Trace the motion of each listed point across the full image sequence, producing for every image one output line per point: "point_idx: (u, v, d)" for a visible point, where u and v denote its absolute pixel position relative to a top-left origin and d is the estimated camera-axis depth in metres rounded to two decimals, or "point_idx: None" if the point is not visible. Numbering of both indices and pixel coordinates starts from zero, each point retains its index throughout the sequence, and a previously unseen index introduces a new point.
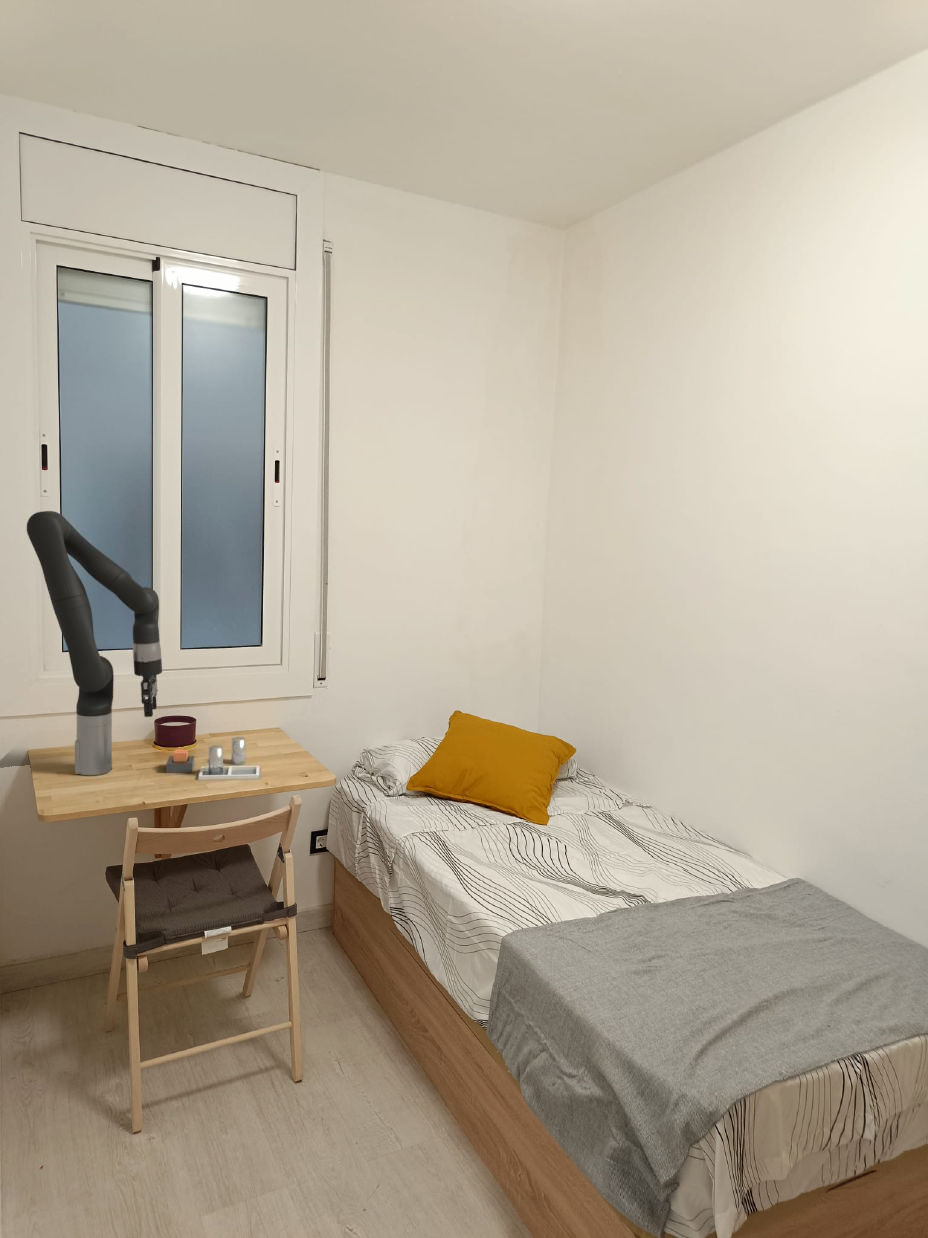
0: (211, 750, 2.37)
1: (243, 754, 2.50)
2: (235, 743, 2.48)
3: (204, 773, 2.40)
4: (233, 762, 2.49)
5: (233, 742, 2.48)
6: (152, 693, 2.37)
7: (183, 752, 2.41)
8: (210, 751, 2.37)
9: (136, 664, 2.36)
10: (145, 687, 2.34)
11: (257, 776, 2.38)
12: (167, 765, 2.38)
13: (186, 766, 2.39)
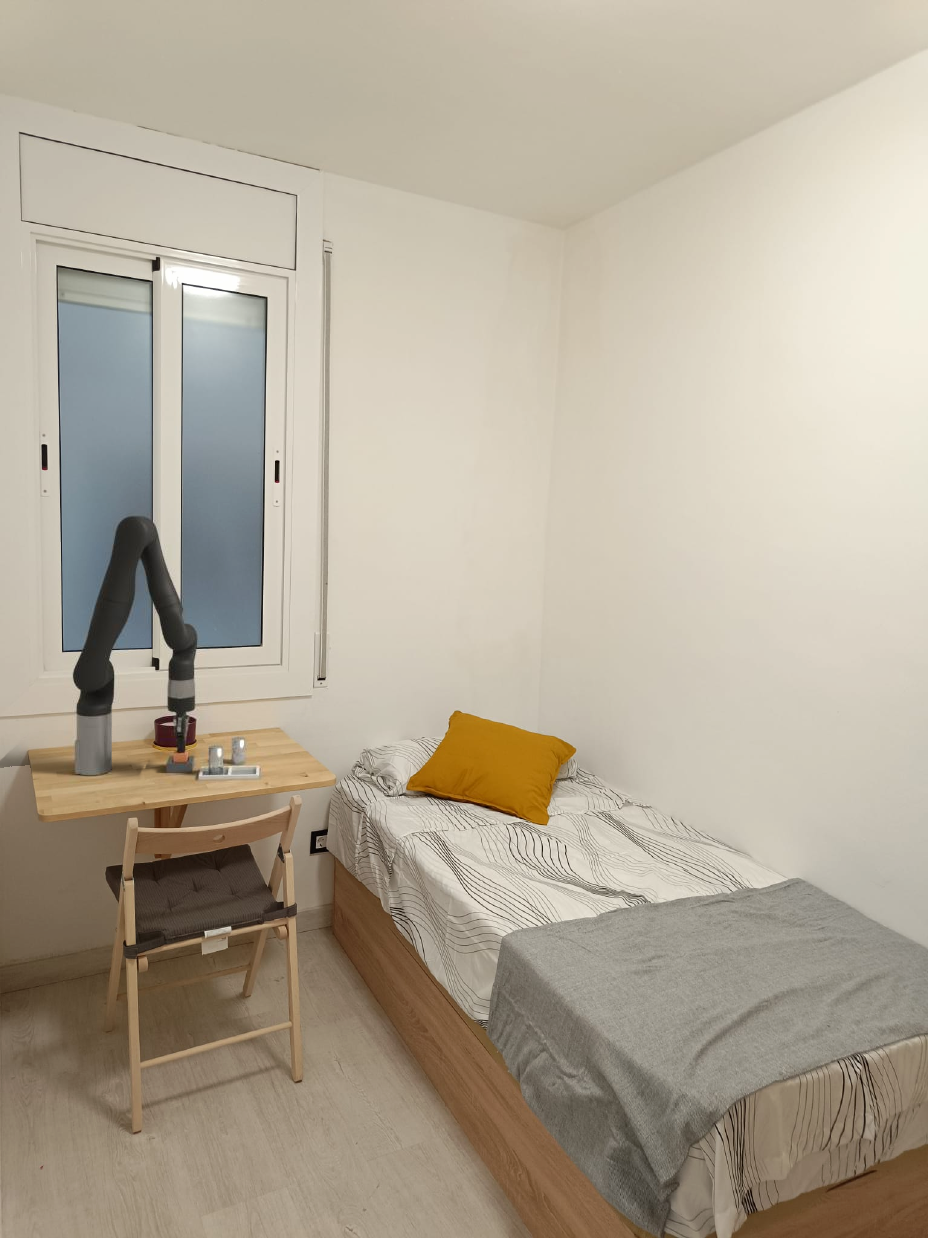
0: (211, 750, 2.37)
1: (243, 754, 2.50)
2: (235, 743, 2.48)
3: (204, 773, 2.40)
4: (233, 762, 2.49)
5: (233, 742, 2.48)
6: (185, 731, 2.40)
7: (183, 753, 2.41)
8: (210, 751, 2.37)
9: (170, 700, 2.37)
10: (179, 731, 2.35)
11: (257, 776, 2.38)
12: (167, 765, 2.38)
13: (186, 766, 2.39)
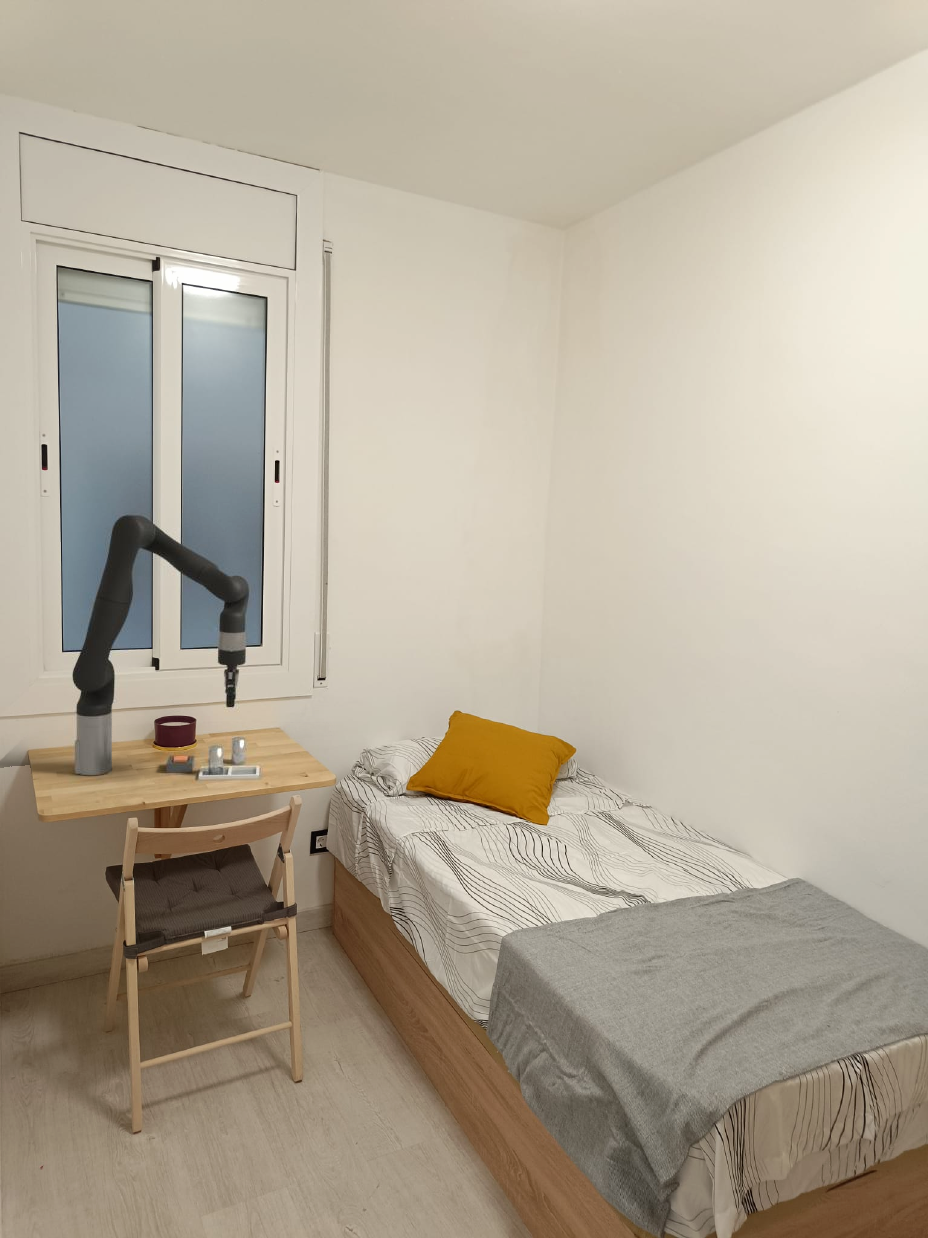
0: (211, 750, 2.37)
1: (243, 754, 2.50)
2: (235, 743, 2.48)
3: (204, 773, 2.40)
4: (233, 762, 2.49)
5: (233, 742, 2.48)
6: (235, 683, 2.33)
7: (183, 759, 2.41)
8: (210, 751, 2.37)
9: (221, 653, 2.32)
10: (230, 677, 2.30)
11: (257, 776, 2.38)
12: (167, 765, 2.38)
13: (186, 766, 2.39)
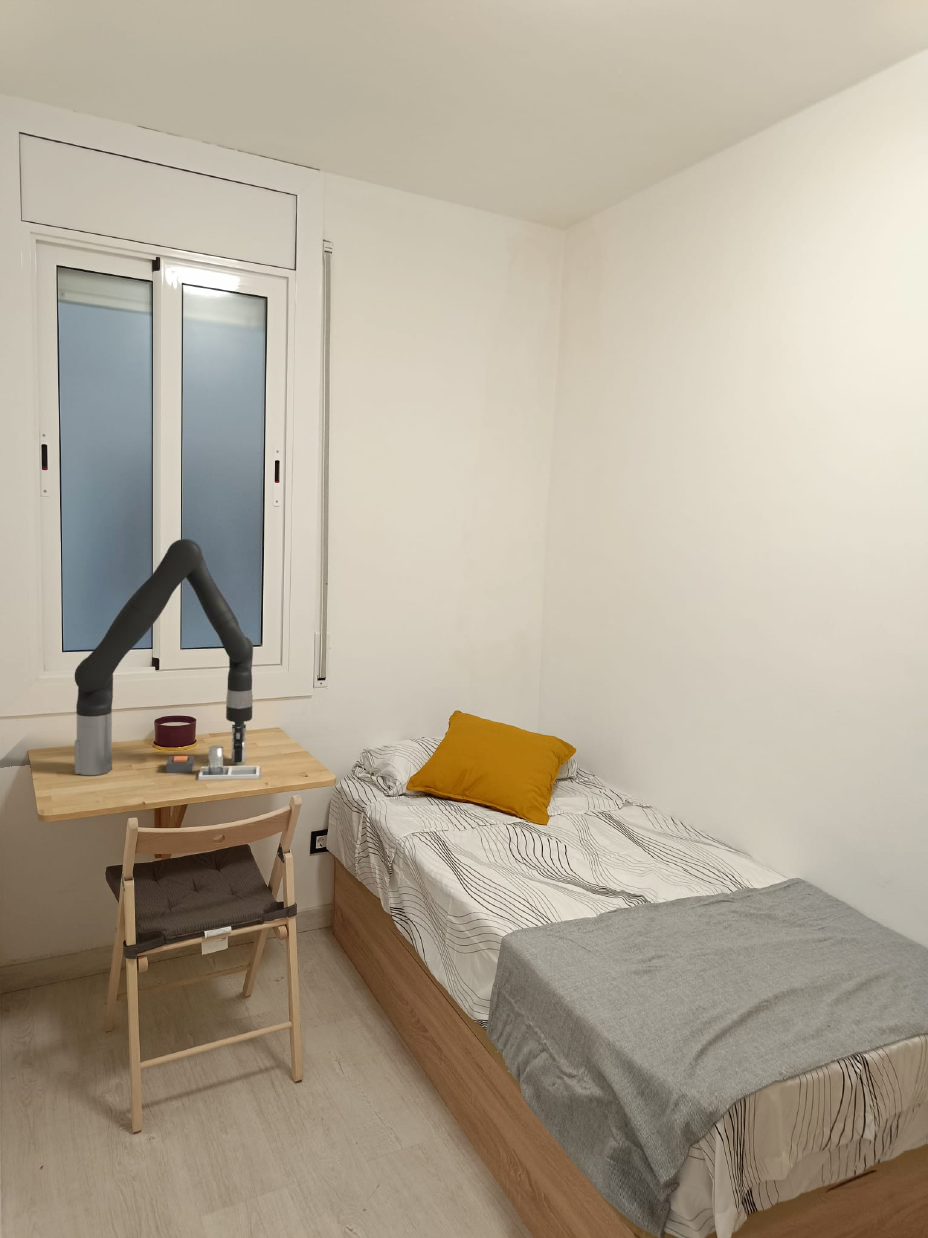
0: (211, 750, 2.37)
1: (243, 754, 2.50)
2: None
3: (204, 773, 2.40)
4: (233, 762, 2.49)
5: (233, 742, 2.48)
6: (243, 740, 2.47)
7: (183, 759, 2.41)
8: (210, 751, 2.37)
9: (229, 710, 2.46)
10: (237, 737, 2.43)
11: (257, 776, 2.38)
12: (167, 765, 2.38)
13: (186, 766, 2.39)
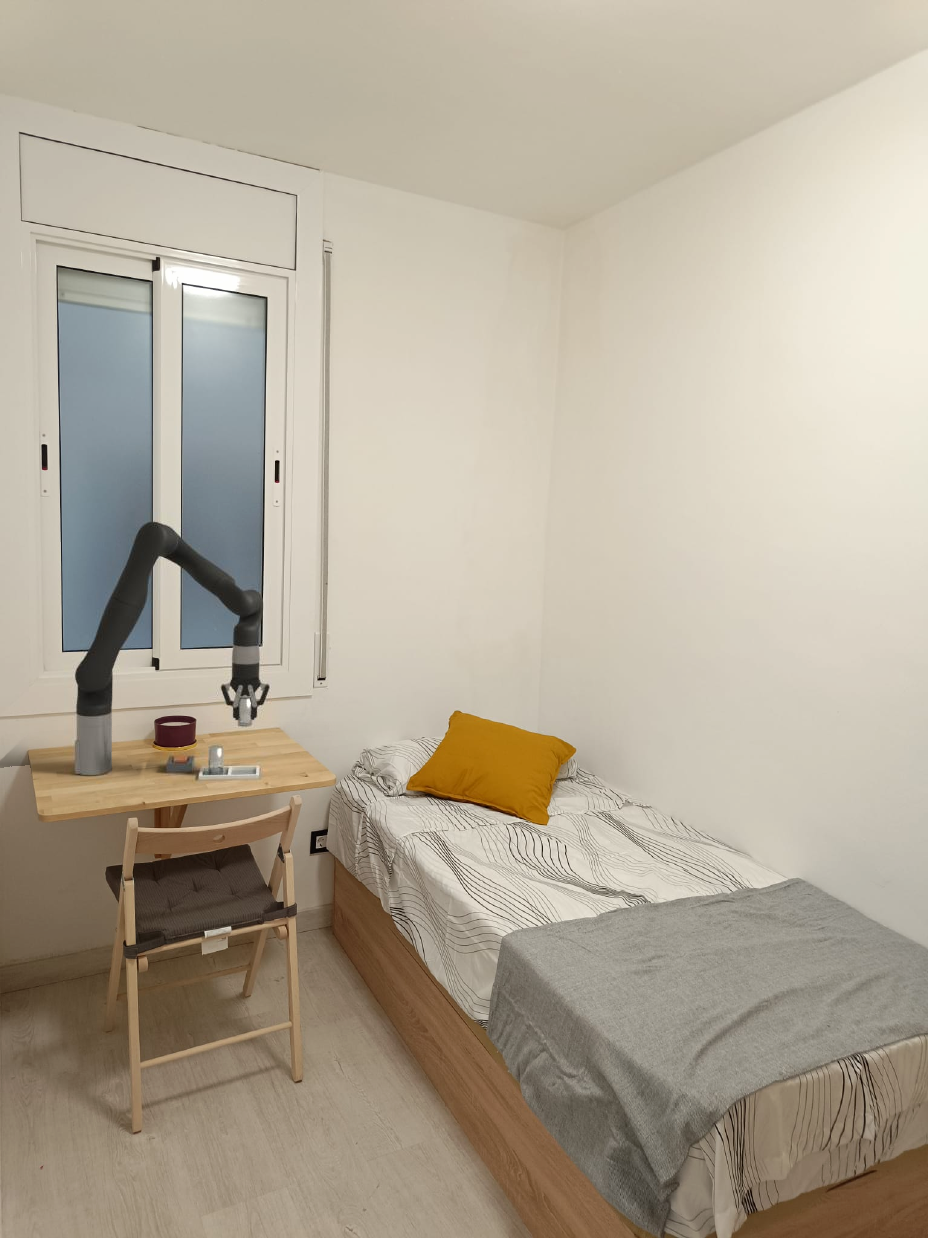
0: (211, 750, 2.37)
1: (240, 714, 2.37)
2: None
3: (204, 773, 2.40)
4: None
5: None
6: (235, 697, 2.36)
7: (183, 759, 2.41)
8: (210, 751, 2.37)
9: None
10: None
11: (257, 776, 2.38)
12: (167, 765, 2.38)
13: (186, 766, 2.39)
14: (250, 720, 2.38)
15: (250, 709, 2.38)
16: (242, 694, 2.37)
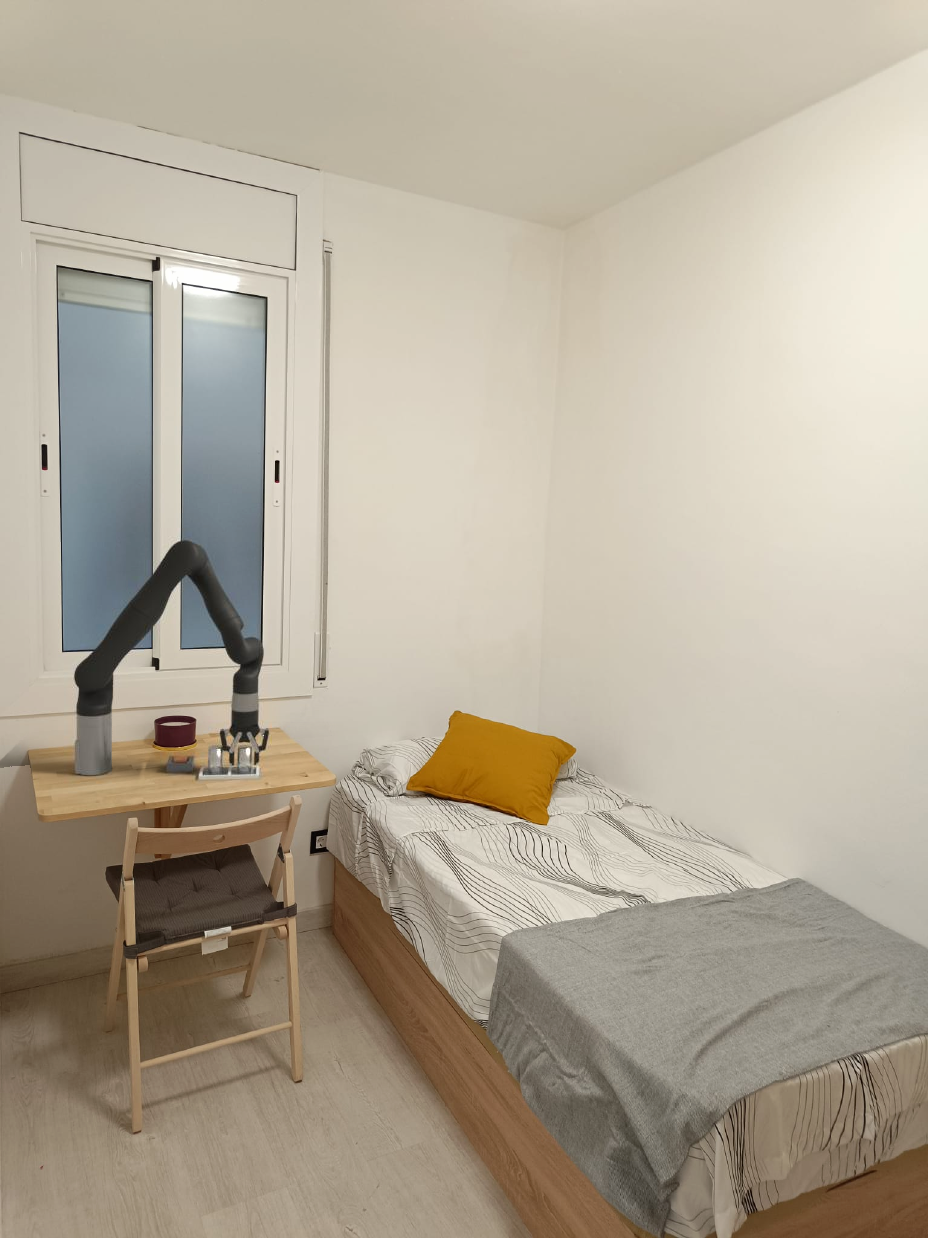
0: (210, 750, 2.36)
1: (239, 763, 2.39)
2: None
3: (204, 773, 2.40)
4: None
5: None
6: (232, 743, 2.38)
7: (183, 759, 2.41)
8: (209, 751, 2.37)
9: None
10: None
11: (257, 776, 2.38)
12: (167, 765, 2.38)
13: (186, 766, 2.39)
14: (250, 770, 2.40)
15: (249, 759, 2.40)
16: (241, 741, 2.39)
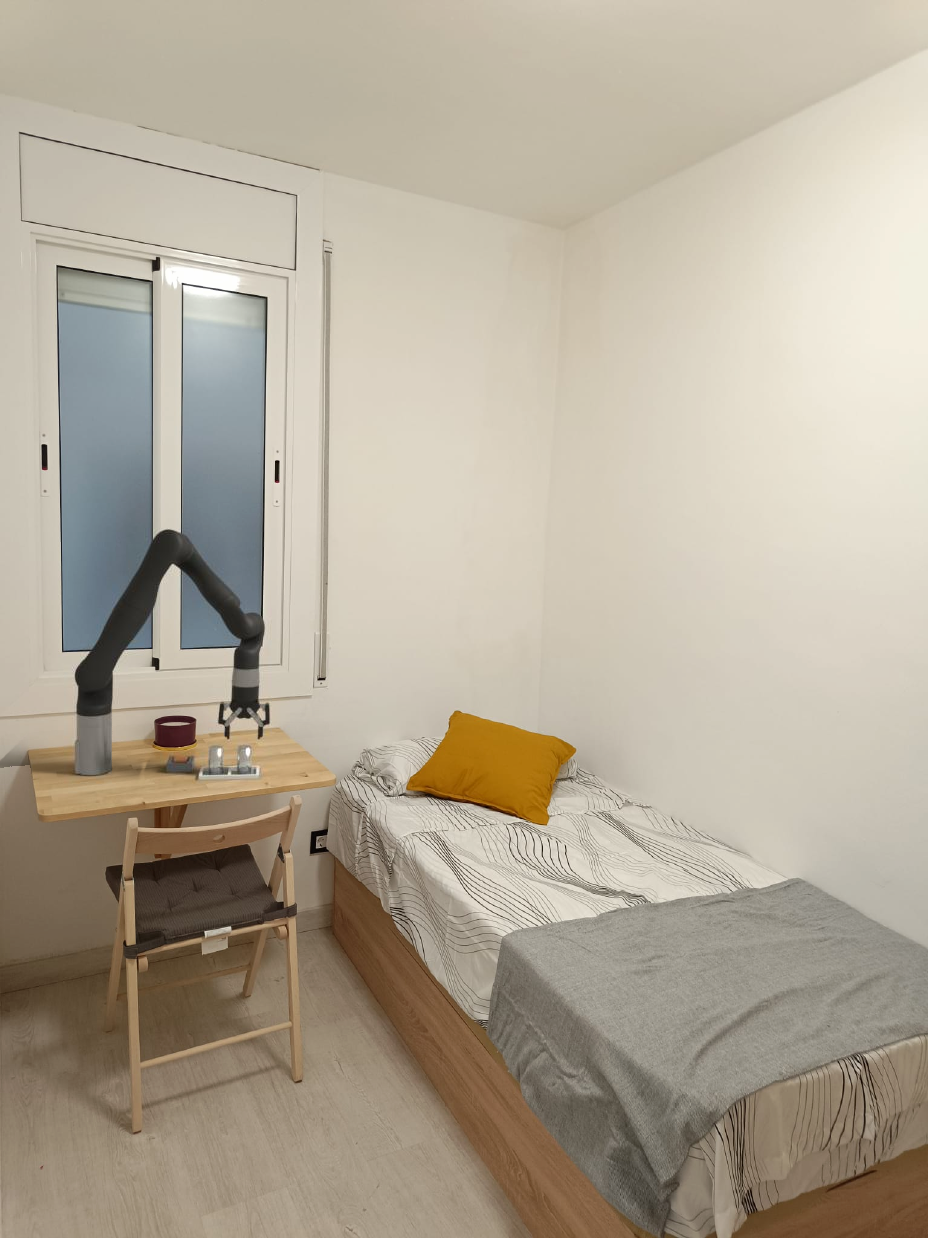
0: (211, 750, 2.37)
1: (239, 763, 2.39)
2: None
3: (204, 773, 2.40)
4: None
5: None
6: (230, 717, 2.36)
7: (183, 759, 2.41)
8: (210, 751, 2.37)
9: None
10: None
11: (257, 776, 2.38)
12: (167, 765, 2.38)
13: (186, 766, 2.39)
14: (250, 770, 2.40)
15: (249, 759, 2.40)
16: (241, 717, 2.37)
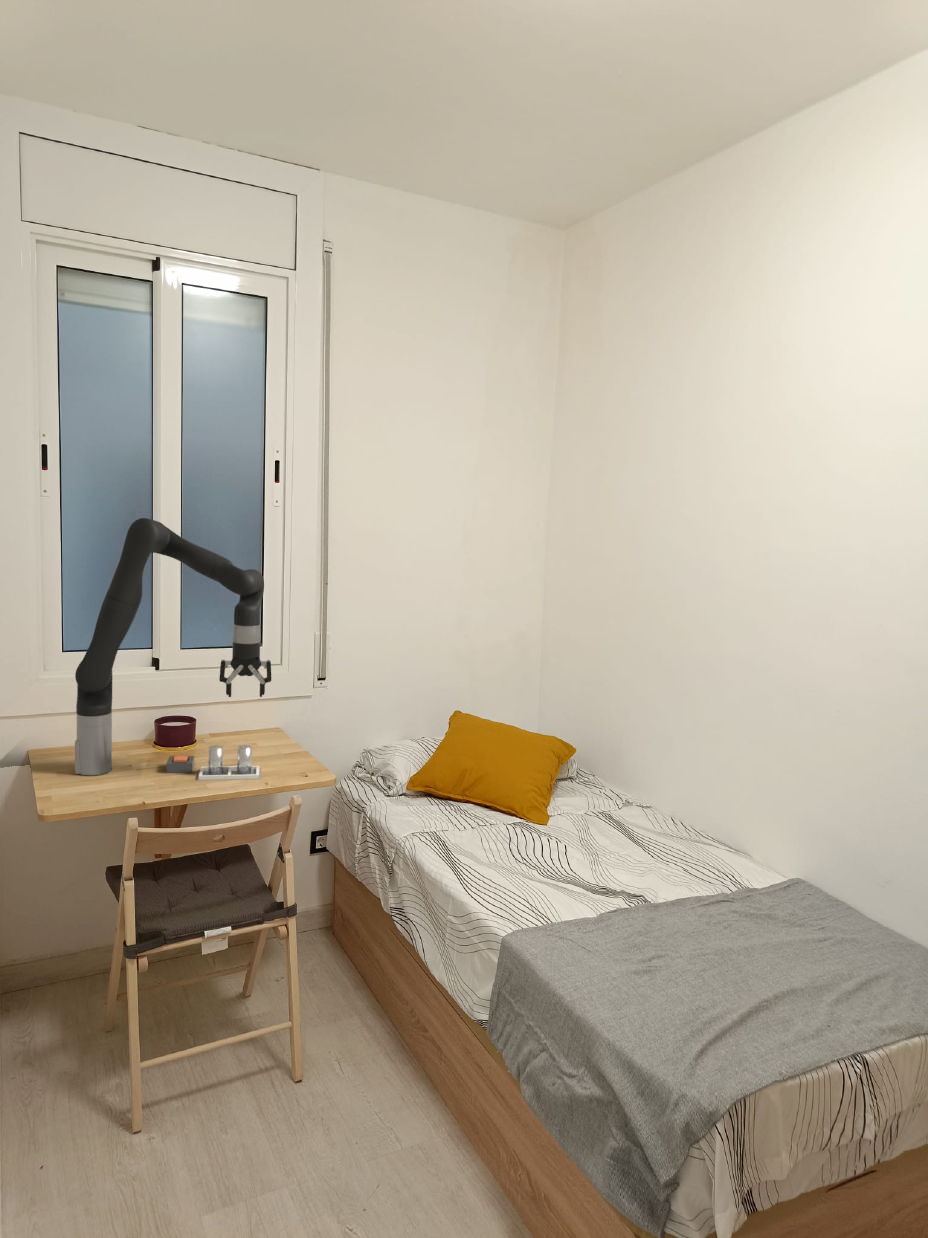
0: (211, 750, 2.37)
1: (239, 763, 2.39)
2: None
3: (204, 773, 2.40)
4: None
5: None
6: (231, 674, 2.35)
7: (183, 759, 2.41)
8: (210, 751, 2.37)
9: None
10: None
11: (257, 776, 2.38)
12: (167, 765, 2.38)
13: (186, 766, 2.39)
14: (250, 770, 2.40)
15: (249, 759, 2.40)
16: (242, 674, 2.36)
